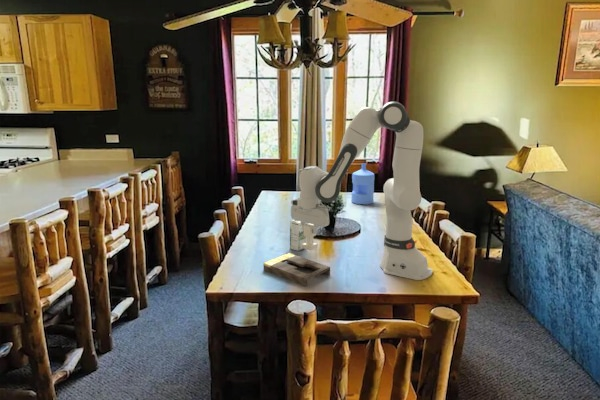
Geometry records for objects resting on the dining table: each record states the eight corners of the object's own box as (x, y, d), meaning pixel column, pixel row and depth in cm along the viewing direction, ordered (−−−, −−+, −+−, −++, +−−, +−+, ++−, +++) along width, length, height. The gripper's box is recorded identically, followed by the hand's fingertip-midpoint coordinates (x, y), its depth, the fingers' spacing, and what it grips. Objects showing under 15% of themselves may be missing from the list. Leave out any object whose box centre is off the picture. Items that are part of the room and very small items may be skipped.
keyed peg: (317, 247, 191) (317, 224, 189) (310, 250, 188) (310, 227, 185) (309, 244, 195) (309, 222, 192) (302, 247, 191) (301, 225, 188)
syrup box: (297, 245, 212) (297, 218, 208) (306, 248, 208) (306, 220, 205) (289, 248, 207) (289, 220, 204) (298, 251, 204) (298, 222, 200)
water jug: (361, 198, 310) (362, 161, 304) (377, 202, 299) (379, 163, 292) (346, 201, 301) (347, 163, 294) (363, 206, 289) (364, 166, 282)
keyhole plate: (330, 274, 177) (330, 266, 177) (305, 286, 166) (305, 278, 165) (288, 259, 193) (288, 252, 192) (263, 270, 181) (263, 262, 181)
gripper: (332, 204, 182) (332, 235, 185) (297, 197, 195) (297, 226, 198) (323, 207, 177) (323, 238, 180) (288, 200, 190) (288, 229, 194)
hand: (309, 232), depth 190 cm, fingers closed on keyed peg, 4 cm apart
